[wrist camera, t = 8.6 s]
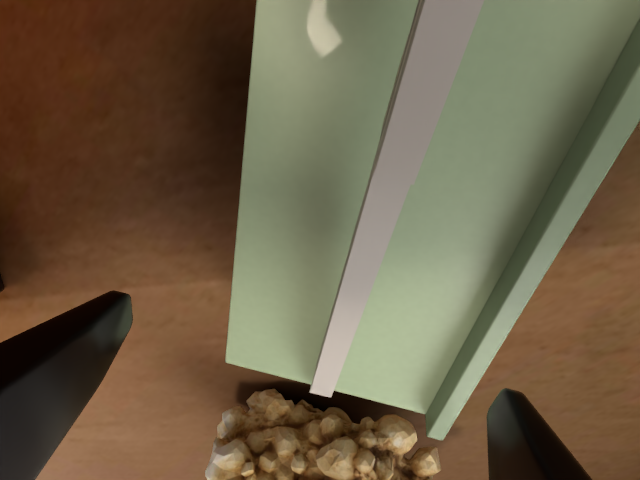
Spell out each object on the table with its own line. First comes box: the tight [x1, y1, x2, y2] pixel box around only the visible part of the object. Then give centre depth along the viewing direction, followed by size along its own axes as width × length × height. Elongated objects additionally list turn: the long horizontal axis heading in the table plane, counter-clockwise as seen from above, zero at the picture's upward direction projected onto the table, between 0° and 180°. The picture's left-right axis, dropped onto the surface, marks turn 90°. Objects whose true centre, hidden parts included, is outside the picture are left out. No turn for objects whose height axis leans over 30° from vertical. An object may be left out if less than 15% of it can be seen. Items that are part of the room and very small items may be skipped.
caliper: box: [309, 0, 484, 397], centre depth 12 cm, size 20×1×6 cm, turn 171°
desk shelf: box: [225, 0, 640, 440], centre depth 16 cm, size 11×21×6 cm, turn 170°
